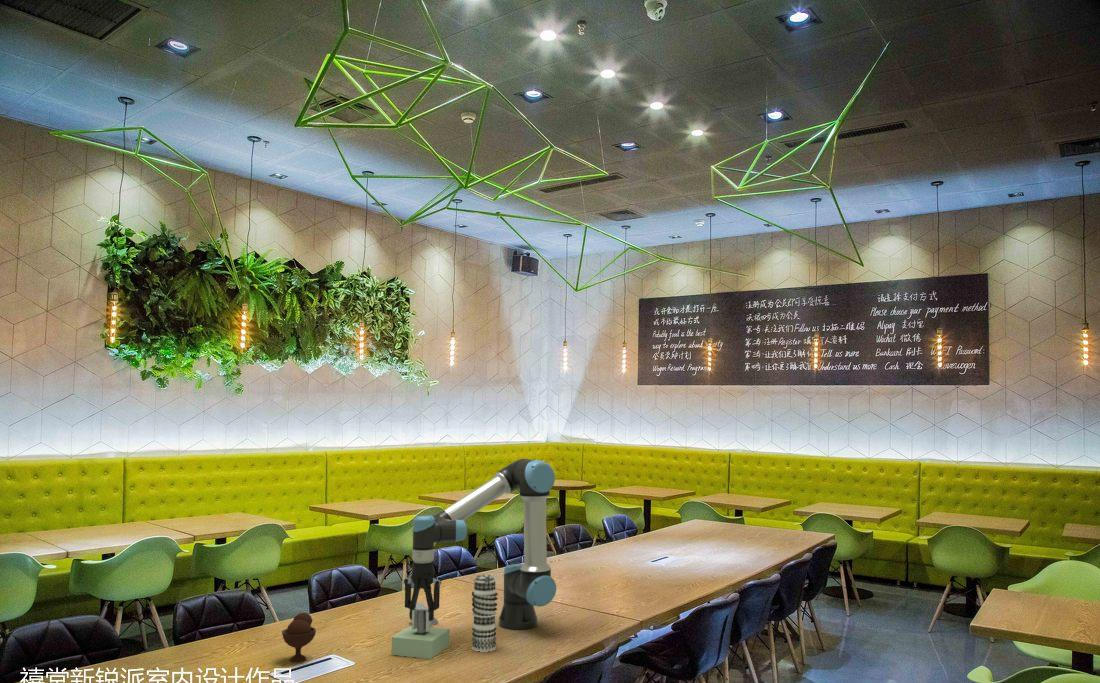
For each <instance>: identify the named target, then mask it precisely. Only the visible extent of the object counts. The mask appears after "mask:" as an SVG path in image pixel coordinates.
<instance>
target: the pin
mask: <svg viewBox="0 0 1100 683" xmlns="http://www.w3.org/2000/svg"><path fill="white" fill-rule="evenodd" d="M426 612H427V610H425V609H420V610H417V635H426Z"/></svg>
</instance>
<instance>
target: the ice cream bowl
mask: <svg viewBox="0 0 1100 683" xmlns="http://www.w3.org/2000/svg"><path fill="white" fill-rule="evenodd" d="M313 621H314V620H313V618H312V616H311V615H310V614H309V613H307V612H299V613H297V614H296V615H295V616H294V617H293V620H292V621H290V623H289V625H288V626H287V628H285V629H284V630H281V634H282V638H283V640H284V641H283V642H285V643H286V644H287V646H289V647H292V648H293V649H294V648H295V654H294V655H293V656H291V657H289V662H291V663H302V662H303V663H304V662H305V661H306V660H307V658H306V656H305V655H303V654H302V648H303V647H306V646H307V645H308V644H310V643H311V642H312V641H313V640H314V638H315V636H316V632H317V630H316V628H315V627H313V626H312V624H313V623H312V622H313Z"/></svg>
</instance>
